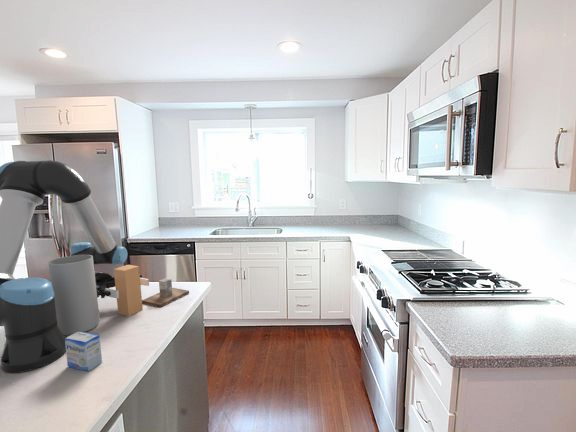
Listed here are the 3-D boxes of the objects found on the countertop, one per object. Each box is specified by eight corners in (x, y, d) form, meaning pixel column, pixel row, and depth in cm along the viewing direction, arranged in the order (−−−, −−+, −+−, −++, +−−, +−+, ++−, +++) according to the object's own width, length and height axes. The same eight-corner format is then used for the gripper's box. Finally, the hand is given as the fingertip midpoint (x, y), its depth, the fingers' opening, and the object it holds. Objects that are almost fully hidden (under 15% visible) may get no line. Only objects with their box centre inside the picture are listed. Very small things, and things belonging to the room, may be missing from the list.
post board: (161, 307, 122) (159, 287, 121) (142, 302, 127) (140, 284, 126) (189, 293, 137) (187, 275, 136) (171, 289, 141) (170, 273, 140)
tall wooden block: (142, 309, 121) (138, 266, 118) (128, 316, 115) (124, 270, 113) (132, 306, 123) (128, 264, 121) (118, 313, 118) (113, 268, 115)
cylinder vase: (105, 317, 114) (98, 253, 111) (92, 333, 102) (84, 262, 99) (67, 321, 112) (59, 256, 108) (49, 338, 100) (40, 266, 96)
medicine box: (67, 367, 84) (63, 338, 83) (82, 358, 88) (78, 330, 87) (88, 372, 82) (85, 342, 81) (102, 362, 86) (99, 334, 85)
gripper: (126, 280, 137) (160, 286, 128) (67, 301, 115) (103, 310, 106) (124, 264, 136) (158, 269, 127) (65, 282, 114) (101, 290, 105)
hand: (133, 288), depth 117 cm, fingers open, 13 cm apart
